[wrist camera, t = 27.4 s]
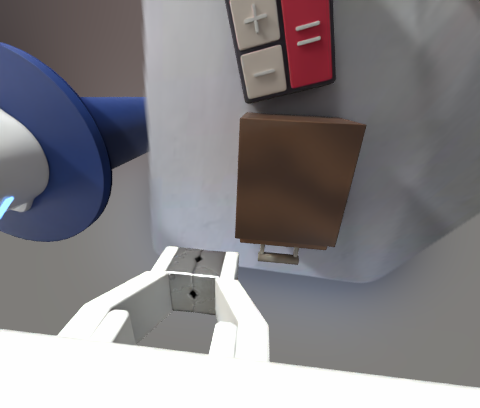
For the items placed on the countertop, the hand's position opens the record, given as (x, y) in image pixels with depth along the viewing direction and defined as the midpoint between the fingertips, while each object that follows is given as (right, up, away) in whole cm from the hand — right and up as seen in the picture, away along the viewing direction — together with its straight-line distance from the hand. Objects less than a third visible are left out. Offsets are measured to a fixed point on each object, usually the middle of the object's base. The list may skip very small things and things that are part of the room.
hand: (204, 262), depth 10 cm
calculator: (+6, +24, +18) cm, 31 cm away
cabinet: (+8, +8, +25) cm, 28 cm away
